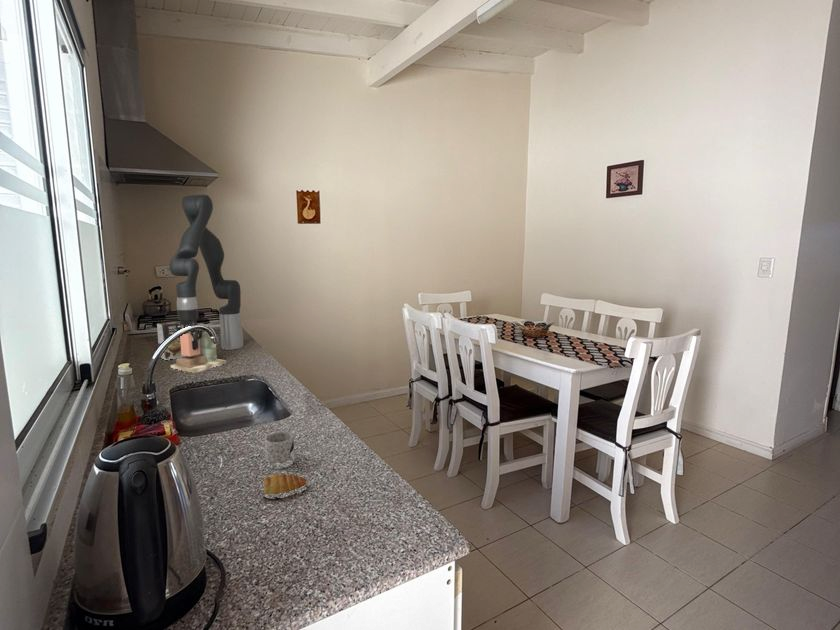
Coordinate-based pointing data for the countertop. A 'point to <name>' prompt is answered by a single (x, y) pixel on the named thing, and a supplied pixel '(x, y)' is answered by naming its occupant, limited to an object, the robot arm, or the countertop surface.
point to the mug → (279, 447)
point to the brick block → (188, 345)
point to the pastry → (282, 483)
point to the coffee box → (175, 346)
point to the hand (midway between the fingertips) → (190, 348)
